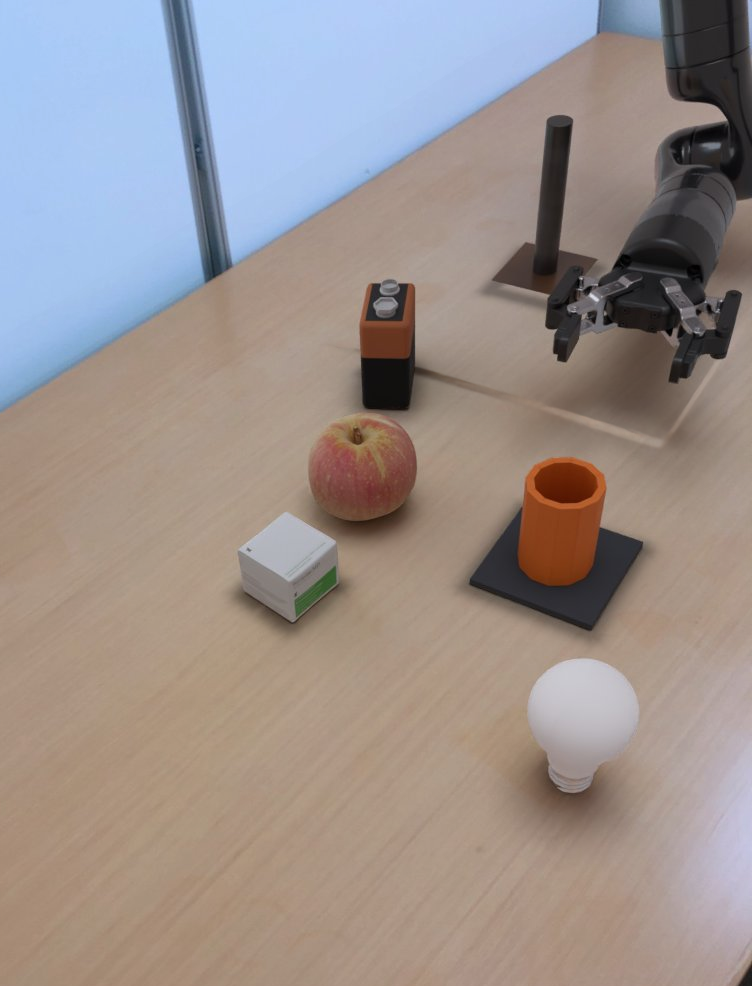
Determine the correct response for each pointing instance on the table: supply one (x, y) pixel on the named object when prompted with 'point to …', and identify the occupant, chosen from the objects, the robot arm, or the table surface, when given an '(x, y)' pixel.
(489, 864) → the table surface
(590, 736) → the light bulb
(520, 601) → the mat
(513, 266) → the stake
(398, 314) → the battery
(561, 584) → the tube
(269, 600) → the small box
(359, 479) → the apple
